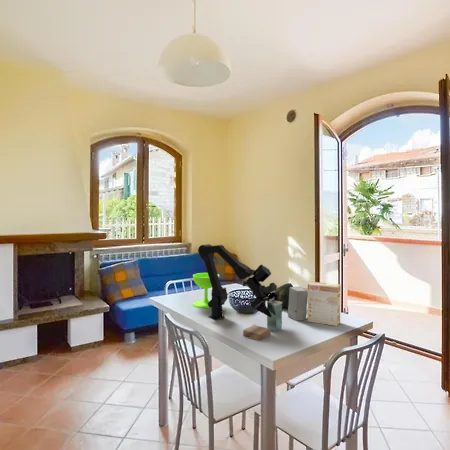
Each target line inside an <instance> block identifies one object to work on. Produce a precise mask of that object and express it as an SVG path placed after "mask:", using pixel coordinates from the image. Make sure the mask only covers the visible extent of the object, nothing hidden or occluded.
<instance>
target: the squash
mask: <svg viewBox="0 0 450 450" xmlns="http://www.w3.org/2000/svg"><path fill="white" fill-rule="evenodd" d="M290 287H294V285H293V284H292V282H288V283H285V284H283V285H279V286H277V288H276V289H277V290H276V291H277V292H278V293H279V294H280V295H279V298H278V301H280V302H282V309H283V308H288V306H289V292H290Z"/></svg>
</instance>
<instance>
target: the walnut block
mask: <svg viewBox="0 0 450 450" xmlns="http://www.w3.org/2000/svg"><path fill="white" fill-rule="evenodd" d="M271 333H272V331H271V329H269V328H267V327H265V326H260V325H256V324H253V325H251V326H249V327H246V328H243V330H242V337H246V338H250V339H254V340H257V341H262V340H263V339H266V338H268V337H270V336H271V335H272V334H271Z"/></svg>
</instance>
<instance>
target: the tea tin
mask: <svg viewBox="0 0 450 450" xmlns="http://www.w3.org/2000/svg"><path fill="white" fill-rule="evenodd" d="M266 307H267V308H268V310H269V312H270V313H271V315H272V316H271V317H269V316H267V315H266V328H269V329H271V332H274V333H275V332H280V330H282V329H283V327H282V326H283V325H282V324H283V322H282V321H283V319H282V318H283V308H282V302H280V301H275V300H272V301H269V302H267V301H266Z"/></svg>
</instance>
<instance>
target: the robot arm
mask: <svg viewBox="0 0 450 450" xmlns="http://www.w3.org/2000/svg"><path fill="white" fill-rule="evenodd" d="M197 253H198V255H199V257H200V258H201V260H202V261H203V262H204V264H205V268H206V271H207V272H206V273H208V275H209V279H210V282H211V286H212V287H211V293H210V294H211V299H209V300H210V301H209V302H208V306H209V307H211V308H210V315H208V316H207V317H208V318H210V319H213V320H221V319H224V318H225V315H223V312H224V309H223V305H225V303H226V301H227V299H228V295H229V293H228V292H227V288H226V287H223V286H222V285H221V281H220V276H219V277H218V272H217V271H218V270H217V267H216V264H215V261H214V259H215V258H214V257H215V254H216V253H217V254H218V255H219V256H220V257H221V258H222V259H223V260H224V261H225V262H226V263H227V264H228V265H229V266H230V267H231V268H232V270H233V272H234V274H235V275H236V276H237V278H238V279H239V280H243V283H242V287H248V288H249V290H250V291H251V295H252V296H254V297H255V298H254V299H253V300H252V301H251V302H250V304H249V305H250V309H252V310H255V311H257V312H260V313H262V314H263V315H265V316H266V317H267V316H269V317H271V316H272V315H271V313H270V312H269V310H268V308H267V302H269V301H272V300H275V301H278V298H279V295H280V294H279V293H278V292H277V291H276V290H277V288H278V286H277V284H276V283H275V282H271V283H269V285H268V286H265V285H263V284H262V283H264V282H265V281H266V280H267V279H268V278H269V277H270V276H271V275H272V272H271V270H270V269H269V268H267V267H266V266H264V265H263V264H260V265H258V267H257V268H256V269H252V268H250V267H249V266H248V265H246V264H245V263H243V262H241V261H239V260H238V259H237V258H236V257H235V256H234V255H233V254H232V253H231V252H230V251H228V249H227V248H225V246H224V245H223V244H217V245H212V244H210V243H208V244H202V245H200V246H199V247H198V248H197ZM245 279H247V280H245Z"/></svg>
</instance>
